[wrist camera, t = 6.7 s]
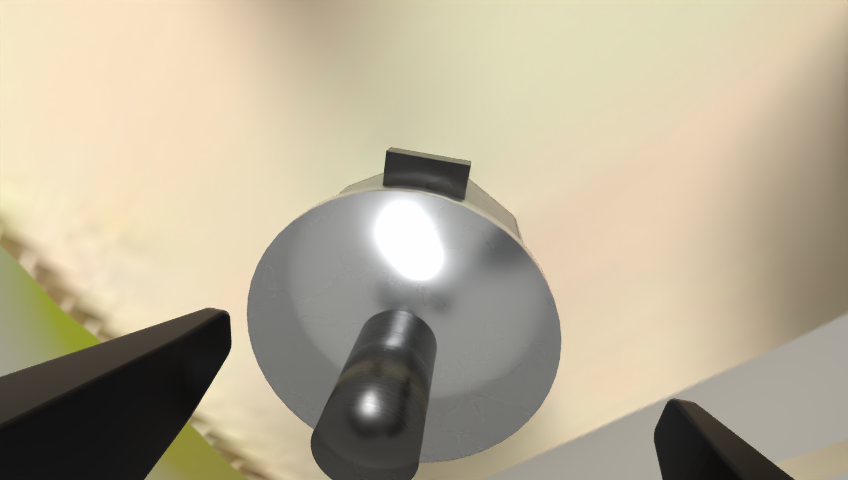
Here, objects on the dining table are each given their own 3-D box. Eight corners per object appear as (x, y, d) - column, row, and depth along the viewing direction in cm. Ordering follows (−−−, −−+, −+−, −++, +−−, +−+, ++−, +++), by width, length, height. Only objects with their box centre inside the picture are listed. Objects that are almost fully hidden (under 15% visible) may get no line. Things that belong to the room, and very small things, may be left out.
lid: (598, 218, 14) (669, 304, 9) (517, 472, 19) (532, 631, 13) (255, 159, 15) (130, 205, 10) (257, 416, 19) (173, 546, 14)
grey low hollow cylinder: (563, 161, 19) (590, 190, 14) (496, 403, 24) (500, 483, 19) (320, 120, 19) (269, 133, 15) (307, 364, 24) (266, 432, 20)
